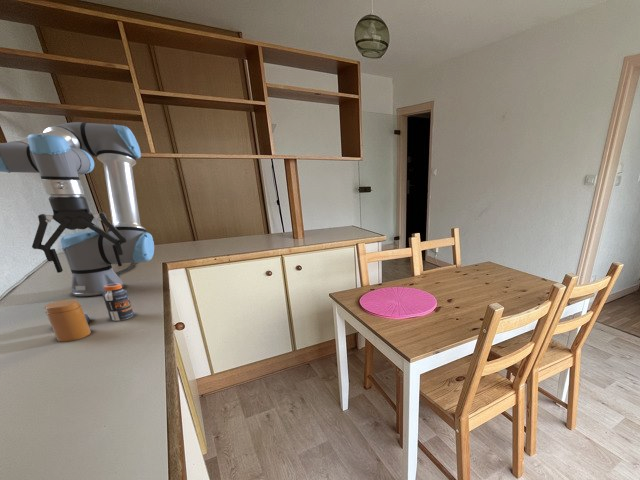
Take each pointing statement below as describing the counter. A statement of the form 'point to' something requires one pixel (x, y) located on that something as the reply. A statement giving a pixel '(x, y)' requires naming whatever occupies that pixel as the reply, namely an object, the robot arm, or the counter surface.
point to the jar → (67, 320)
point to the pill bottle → (117, 302)
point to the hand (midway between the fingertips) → (91, 268)
